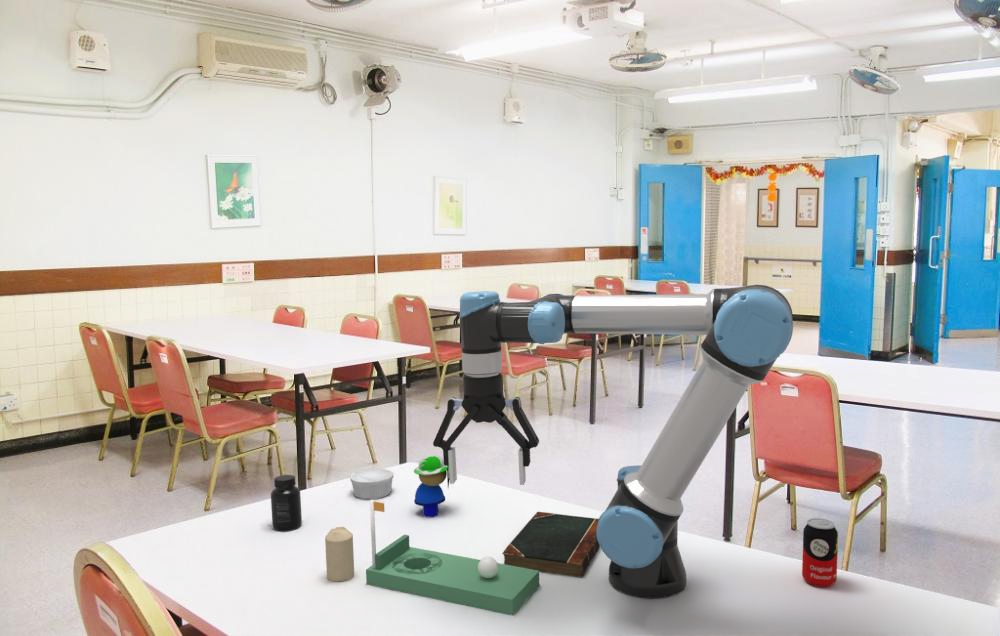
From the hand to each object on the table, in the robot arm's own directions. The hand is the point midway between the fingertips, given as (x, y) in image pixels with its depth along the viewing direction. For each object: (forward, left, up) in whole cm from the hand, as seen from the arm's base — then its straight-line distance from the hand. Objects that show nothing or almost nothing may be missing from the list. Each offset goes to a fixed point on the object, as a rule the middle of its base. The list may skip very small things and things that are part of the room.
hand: (487, 482), depth 154 cm
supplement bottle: (+59, -11, -22) cm, 64 cm away
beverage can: (-58, -29, -22) cm, 68 cm away
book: (-5, -24, -23) cm, 33 cm away
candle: (+31, +6, -22) cm, 38 cm away
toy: (+31, -32, -22) cm, 49 cm away
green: (+8, +1, -22) cm, 23 cm away
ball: (0, +1, -17) cm, 17 cm away
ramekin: (+53, -38, -22) cm, 69 cm away
